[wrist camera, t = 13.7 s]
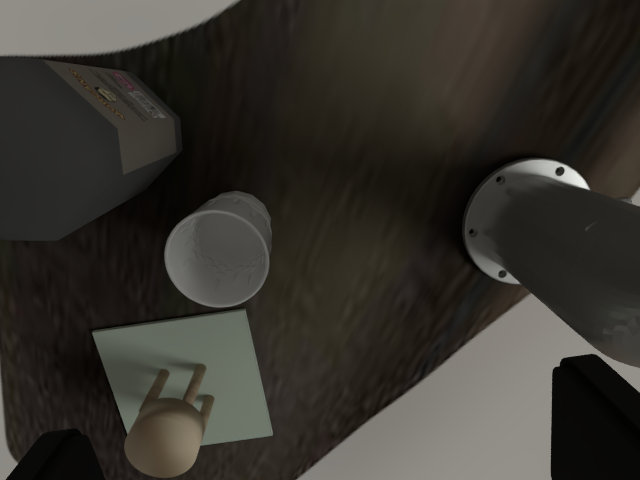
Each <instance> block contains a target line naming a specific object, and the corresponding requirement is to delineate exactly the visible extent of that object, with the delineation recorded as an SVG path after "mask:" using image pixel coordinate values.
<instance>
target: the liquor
mask: <svg viewBox="0 0 640 480" xmlns="http://www.w3.org/2000/svg"><path fill="white" fill-rule="evenodd" d="M182 150H183V147H182V134H181V122H180V118H179V117H178V116H177V115H176V114H175V113H174V112H173V111H172V110H171V109H170V108H169V107H168V106H167V105H166V104H165V103H164V102H163V101H162V100H161V99H160V98H159V97H158V96H157V95H156V94H155V93H154V92H152V91H151V90H150V89H149V88H148V87H147V86H146V85H145V84H144V83H143V82H142V81H141V80H140V79H139V78H138V77H137V76H136V75H135V74H134V73H133V72H127V71H120V70H113V69H106V68H99V67H92V66H85V65H78V64H70V63H63V62H56V61H49V60H42V59H35V58H28V57H0V240H33V241H58V240H59V239H61V238H63V237H65V236H66V235H68V234H70V233H71V232H73V231H75V230H77V229H78V228H80V227H82V226H84V225H85V224H87V223H89V222H91V221H92V220H94V219H96V218H98V217H99V216H101V215H103V214H105V213H106V212H108V211H110V210H111V209H113V208H115V207H117V206H118V205H120V204H122V203H124V202H125V201H127V200H129V199H131V198H132V197H134V196H136V195H138V194H139V193H141V192H143V191H145V190H146V189H147V188H148V187H149V185H150V184H151V183H152V182H153V181H154V180H155V179H156V178H157V177H158V176H159V175H160V174H161V173H162V171H163V170H164V169H165V168H166V167H167V166H168V165H169V164H170V163H171V162H172V161H173V160H174V159H175V157H176V156H177V155H178V154H179V153H180V152H181V151H182Z"/></svg>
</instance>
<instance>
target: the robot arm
mask: <svg viewBox="0 0 640 480" xmlns="http://www.w3.org/2000/svg"><path fill="white" fill-rule="evenodd" d="M556 169H557V171H556ZM555 171H556V172H555ZM498 176H499V180H498V181H496V179H497V177H498ZM471 229H472V232H470V233H469V231H470V230H471ZM462 236H463V241H464V246H465V248H466V250H467V253H468V255H469V256H470V258H471V259H472V261H473V262H474V263H475V264H476V265H477V266H478V267H479V268H480V269H481V270H482V271H483V272H484V273H486V274H487V275H489V276H490V277H492V278H494V279H496V280H498V281H501V282H506V283H510V284H522V285H523V286H524V287H525V288H526V289H528V290H529V291H530V292H531V293H532V294H533V295H534V296H536V297H537V298H538V299H539V300H540V301H541V302H542V303H544V304H545V305H546V306H547V307H548V308H549V309H551V311H553V312H554V313H555V314H556V315H557V316H558V317H560V318H561V319H562V320H563V321H564V322H565V323H566V324H567V325H569V326H570V327H571V328H572V329H573V330H574V331H575V332H577V333H578V334H579V335H580V336H581V337H583V338H584V339H585V340H586V341H587V342H588V343H590V344H591V345H592V346H593V347H594V348H596V349H597V350H598V351H600V352H601V353H603V354H604V355H606V356H608V357H610V358H612V359H614V360H616V361H619V362H622V363H624V364H627V365H630V366H634V367H638V368H640V207H639V206H636V205H633V204H632V201H631V199H630V198H629V197H619V198H612V197H609V196H606V195H603V194H600V193H597V192H594V191H591V189H590V188H589V186H588V184H587V183H586V181H585V179H584V178H583V177H582V176H581V175H580V174H579V173H578V172H577V171H576V170H574V169H573V168H571V167H570V166H568V165H567V164H564V163H561V162H558V161H556V160H552V159H547V158H534V157H532V158H525V159H519V160H516V161H513V162H510V163H507V164H505V165H504V166H502V167H500V168H498V169H496V170H495V171H493V172H492V173H491V174H490V175H488V176H487V177H486V178H485V179H484V180H483V181H482V182H481V183H480V184H479V185H478V187H477V188H476V189H475V191H474V192H473V194H472V195H471V197H470V199H469V201H468V203H467V206H466V208H465V211H464V216H463V221H462ZM499 271H500V272H499ZM551 431H552V432H551V477H552V480H640V393H639V392H638V391H637V390H636V389H635V388H634V387H632V386H631V385H630V384H629V383H628V382H627V381H626V380H625V379H623V378H622V377H621V376H620V375H619V374H618V373H617V372H616V371H615V370H613V369H612V368H611V367H610V366H609V365H608V364H607V363H606V362H604V361H603V360H602V359H601V358H600V357H598V356H597V355H595V354H588V355H581V356H574V357H567V358H563V359H562V360H561V362H560V366H559V367H555V368H554V369H553V373H552V427H551ZM6 480H105V477H104V475H103V472H102V470H101V467H100V465H99V462H98V460H97V457H96V454H95V452H94V449H93V447H92V444H91V442H90V439H89V438H88V436H86V435H82V434H81V432H80V431H79V430H77V429H66V430H59V431H52V432H47V433H44V434H42V435H41V436H40V437H39V438H38V439H37V441H36V442H35V443H34V445H33V446H32V447H31V448H30V450H29V451H28V452H27V453H26V455H25V456H24V457H23V458H22V460H21V461H20V462H19V463H18V465H17V466H16V467H15V469H14V470H13V471H12V472H11V474H10V475H9V476H8V477H7V479H6Z"/></svg>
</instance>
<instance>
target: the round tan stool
mask: <svg viewBox="0 0 640 480" xmlns="http://www.w3.org/2000/svg"><path fill="white" fill-rule="evenodd" d="M205 371H206V366H205V365H204V364H198V365H197V366H196V368H195V371H194V373H193V376H192V378H191V380H190V383H189V385H188V388H187V390H186V393H185V395H184V397H183V400H181V399H177V398H160V399H158V397H159V395H160V393H161V391H162V389H163V387H164V385H165V383H166V381H167V379H168V377H169V375H170V373H169V371H168V370H167V369H162V370H160V372H159V374H158V375H157V377H156V379H155V381H154V383H153V385H152V387H151V388H150V390H149V392H148V394H147V396H146V398H145V400H144V401H143V403H142V405H141V407H140V409H139V414H138V416H137V418H136V420H135V422H134V424H133V426H132V427H131V429H130V431H129V433H128V435H127V437H126V440H125V446H124V448H125V453H126V456H127V458H128V460H129V461H130V463H131V464H132V465H133V466H134V467H135V468H136V469H138V470H139V471H141V472H143V473H145V474H147V475H150V476H154V477H160V478H168V477H174V476H177V475H180V474H182V473H184V472H186V471H187V470H188V469H190V467H191V466H192V465H193V464H194V462H195V460H196V457H197V454H198V451H199V447H200V444H201V442H202V439H203V436H204V433H205V429H206V426H207V423H208V420H209V416H210V413H211V410H212V407H213V403H214V400H215V399H214V397H213V396H212V395H207V396H205V398H204V401H203V404H202V407H201V410H200V412H199V411H198V410H197V409H196V408H195V407H194V406H193V404H194V401H195V398H196V396H197V393H198V390H199V388H200V385H201V382H202V379H203V377H204V374H205Z"/></svg>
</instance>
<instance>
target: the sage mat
mask: <svg viewBox="0 0 640 480" xmlns="http://www.w3.org/2000/svg"><path fill="white" fill-rule="evenodd" d="M92 334H93V337H94V340H95V343H96V346H97V349H98V351H99V354H100V357H101V360H102V363H103V366H104V369H105V371H106V374H107V377H108V380H109V383H110V386H111V389H112V391H113V394H114V397H115V400H116V403H117V406H118V409H119V411H120V414H121V417H122V420H123V423H124V426H125V429H126V431H127V434H128V433H129V431H130V429H131V427H132V426H133V424H134V422H135V420H136V418H137V416H138V414H139V409H140V407H141V405H142V403H143V401H144V400H145V398H146V396H147V394H148V392H149V390H150V388H151V387H152V385H153V383H154V381H155V379H156V377H157V375H158V374H159V372H160V370H162V369H167V370H168V371H169V373H170V375H169V377H168V379H167V381H166V383H165V385H164V387H163V389H162V391H161V393H160V395H159V397H158V399H160V398H177V399H181V400H183V397H184V395H185V393H186V390H187V388H188V385H189V383H190V380H191V378H192V376H193V373H194V371H195V368H196V366H197V365H198V364H204V365H205V366H206V371H205V374H204V377H203V379H202V382H201V385H200V388H199V390H198V393H197V396H196V398H195V401H194V404H193V406H194V407H195V408H196V409H197V410H198V411H199V412H200V410H201V407H202V404H203V401H204V398H205V396H207V395H212V396H213V397H214V399H215V400H214V403H213V407H212V410H211V413H210V416H209V420H208V423H207V426H206V429H205V433H204V436H203V439H202V442H201V444H200V446H201V445H208V444H215V443H222V442H230V441H237V440H244V439H251V438H258V437H265V436H272V435H273V431H272V427H271V422H270V418H269V413H268V409H267V404H266V400H265V395H264V391H263V386H262V382H261V377H260V373H259V368H258V364H257V359H256V355H255V350H254V346H253V341H252V337H251V332H250V328H249V323H248V319H247V314H246V310H245V308H244V309H237V310H230V311H223V312H217V313H210V314H203V315H196V316H189V317H182V318H175V319H168V320H162V321H155V322H148V323H141V324H134V325H127V326H120V327H113V328H106V329H100V330H94V331H93V332H92Z"/></svg>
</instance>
